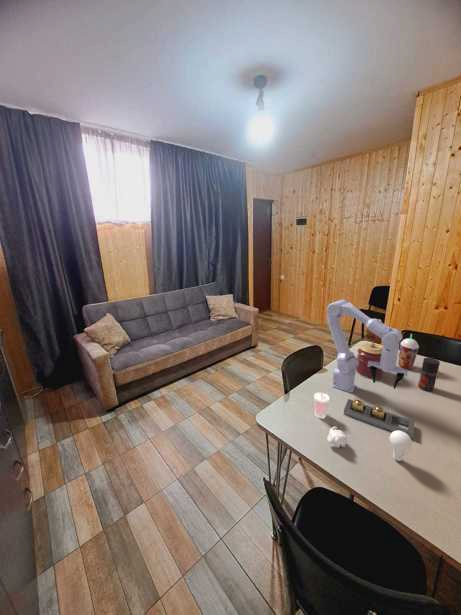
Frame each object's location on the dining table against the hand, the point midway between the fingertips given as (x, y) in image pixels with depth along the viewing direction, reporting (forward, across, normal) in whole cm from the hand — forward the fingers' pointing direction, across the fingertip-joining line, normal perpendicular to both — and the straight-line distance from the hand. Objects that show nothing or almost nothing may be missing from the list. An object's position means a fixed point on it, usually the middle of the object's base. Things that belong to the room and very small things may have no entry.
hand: (384, 384), depth 108 cm
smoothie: (+10, +7, +42) cm, 44 cm away
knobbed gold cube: (+10, 0, -13) cm, 16 cm away
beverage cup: (+10, -20, -23) cm, 32 cm away
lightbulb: (+10, +8, -30) cm, 32 cm away
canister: (+10, -9, +25) cm, 28 cm away
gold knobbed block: (+10, -8, -13) cm, 18 cm away
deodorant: (+10, +16, +24) cm, 30 cm away
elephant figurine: (+10, -10, -35) cm, 38 cm away
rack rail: (+9, 0, -13) cm, 16 cm away
